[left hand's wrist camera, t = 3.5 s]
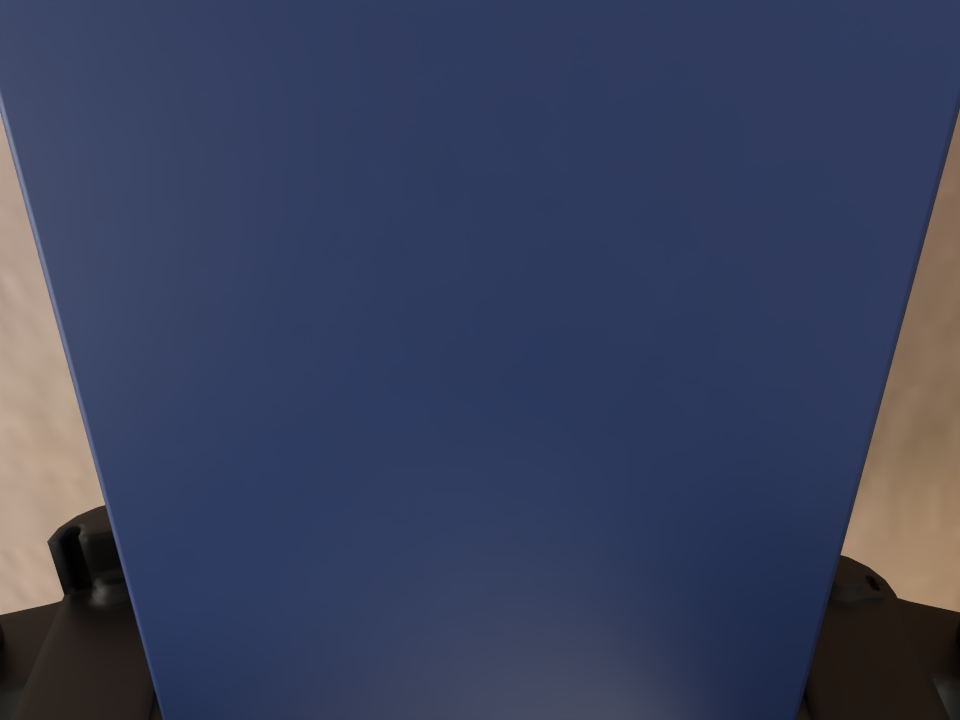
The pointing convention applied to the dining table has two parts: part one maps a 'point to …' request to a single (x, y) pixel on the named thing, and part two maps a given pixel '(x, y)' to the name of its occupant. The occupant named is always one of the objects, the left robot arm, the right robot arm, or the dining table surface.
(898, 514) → the dining table surface
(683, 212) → the box
